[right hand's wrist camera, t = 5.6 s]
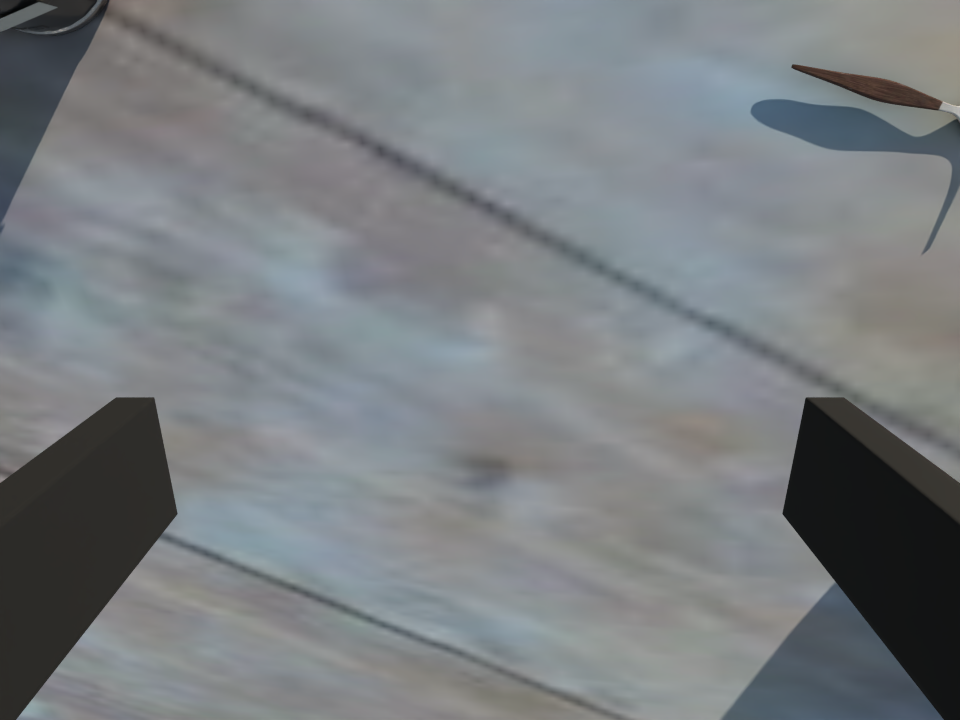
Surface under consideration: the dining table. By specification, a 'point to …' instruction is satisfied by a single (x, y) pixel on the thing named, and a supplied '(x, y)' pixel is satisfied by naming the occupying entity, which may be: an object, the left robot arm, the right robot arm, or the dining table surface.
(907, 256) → the dining table surface
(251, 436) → the dining table surface
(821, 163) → the dining table surface
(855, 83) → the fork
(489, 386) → the dining table surface
